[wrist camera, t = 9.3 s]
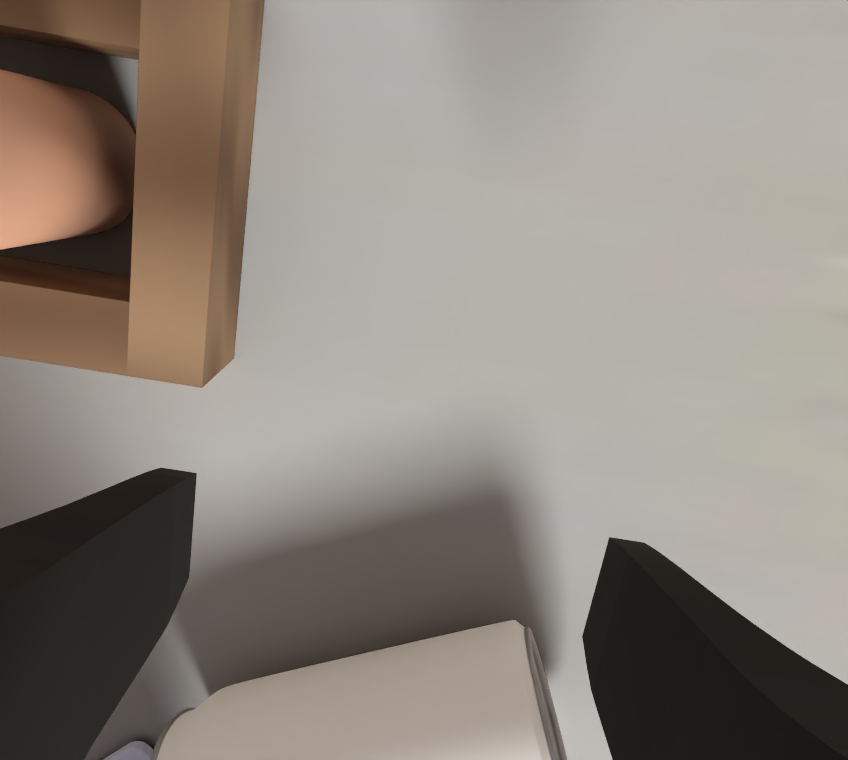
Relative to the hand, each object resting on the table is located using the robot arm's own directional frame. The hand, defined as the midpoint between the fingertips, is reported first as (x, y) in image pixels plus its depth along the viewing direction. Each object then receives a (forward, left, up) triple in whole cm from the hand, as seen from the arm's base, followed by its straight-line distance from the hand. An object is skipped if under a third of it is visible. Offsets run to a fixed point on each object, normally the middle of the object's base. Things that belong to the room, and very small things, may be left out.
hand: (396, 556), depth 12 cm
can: (-2, -11, -7) cm, 13 cm away
